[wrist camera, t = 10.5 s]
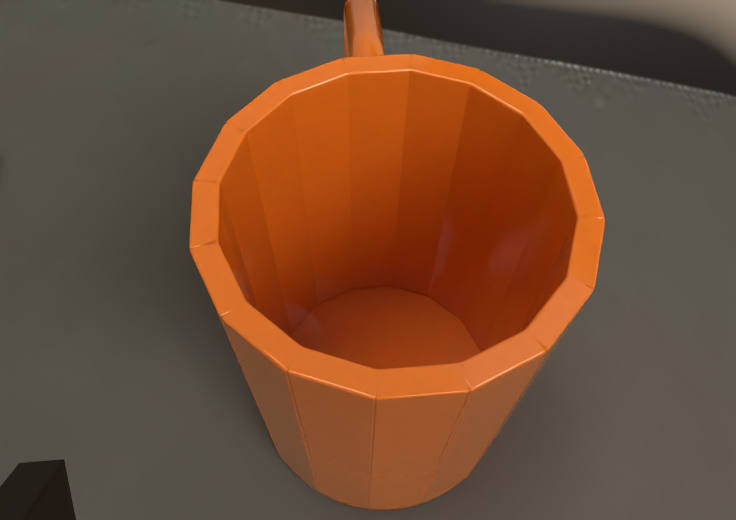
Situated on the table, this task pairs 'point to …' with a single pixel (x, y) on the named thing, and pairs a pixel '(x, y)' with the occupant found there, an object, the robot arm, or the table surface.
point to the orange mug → (392, 262)
